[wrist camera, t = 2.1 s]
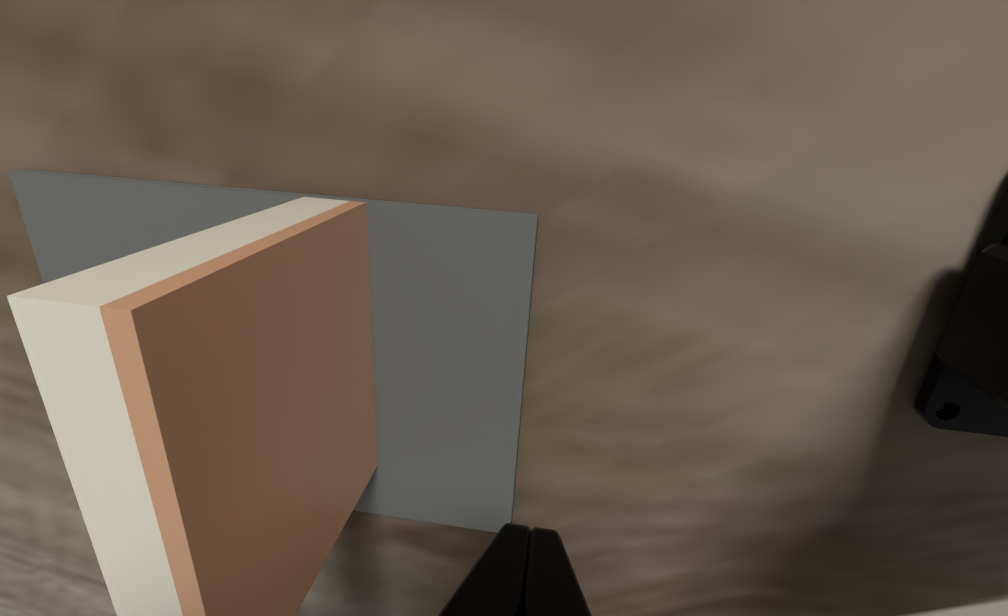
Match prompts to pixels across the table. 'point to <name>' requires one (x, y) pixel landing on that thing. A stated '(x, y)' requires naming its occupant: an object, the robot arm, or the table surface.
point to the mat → (394, 318)
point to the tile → (214, 406)
